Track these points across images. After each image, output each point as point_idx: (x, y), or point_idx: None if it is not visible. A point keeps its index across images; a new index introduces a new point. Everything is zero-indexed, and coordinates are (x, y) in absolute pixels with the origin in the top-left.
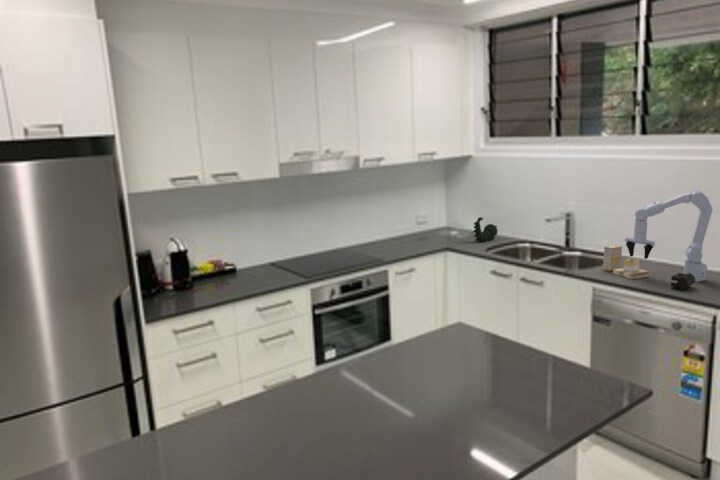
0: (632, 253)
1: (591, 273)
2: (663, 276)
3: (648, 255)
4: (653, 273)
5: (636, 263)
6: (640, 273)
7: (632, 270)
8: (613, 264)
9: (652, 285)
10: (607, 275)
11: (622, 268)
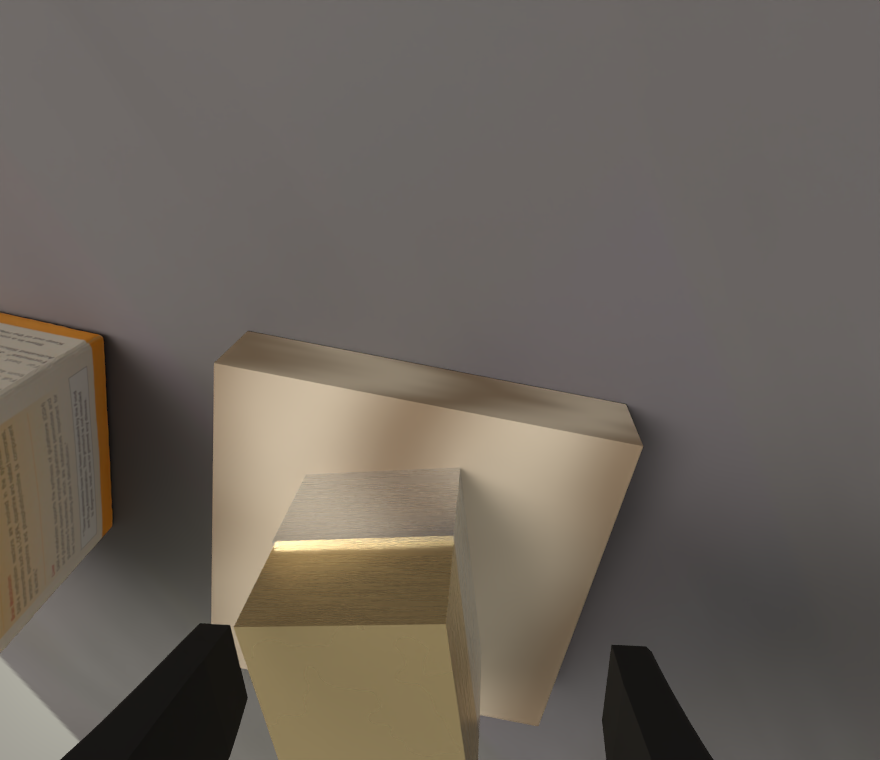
0: (206, 726)
1: (103, 719)
2: (826, 243)
3: (685, 726)
4: (602, 167)
5: (464, 673)
6: (579, 608)
7: (480, 681)
8: (49, 537)
9: (828, 741)
10: (253, 691)
11: (245, 550)
